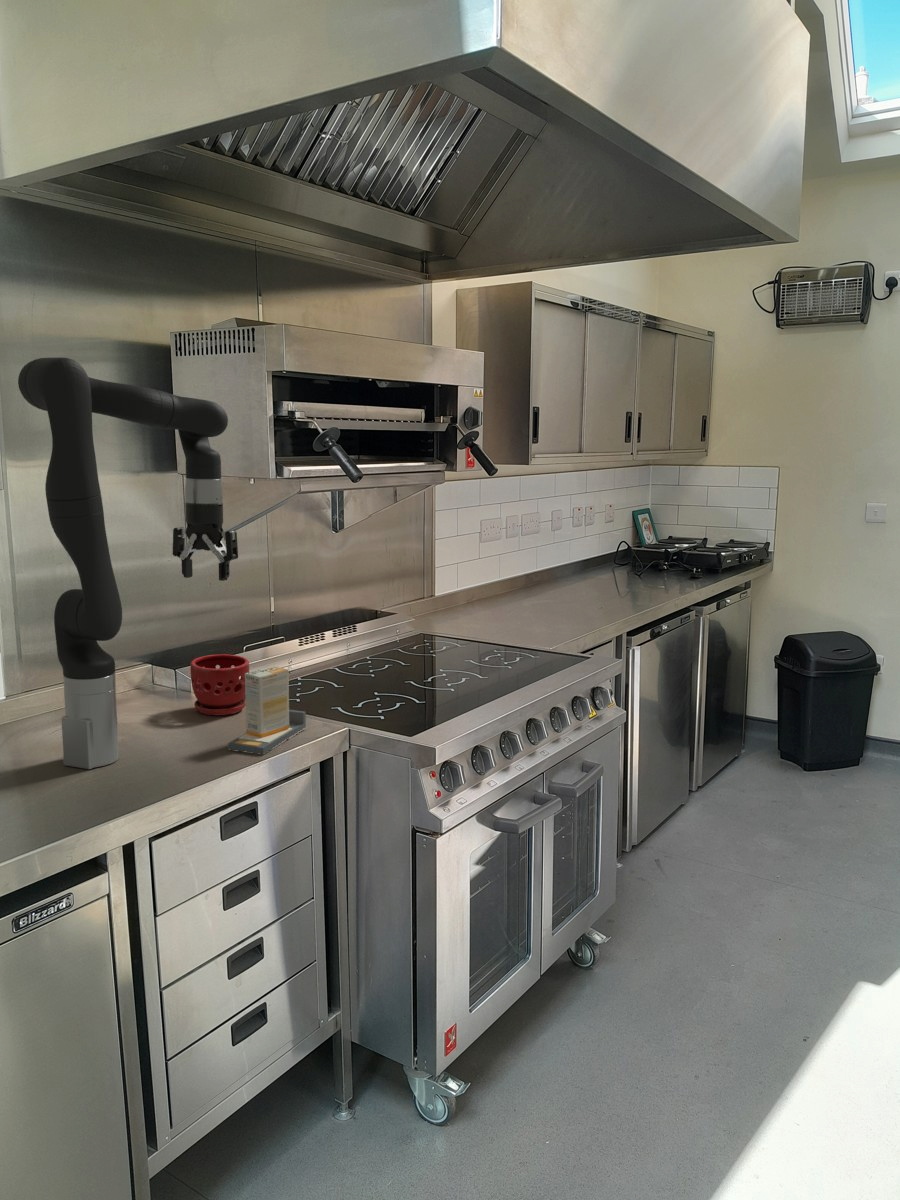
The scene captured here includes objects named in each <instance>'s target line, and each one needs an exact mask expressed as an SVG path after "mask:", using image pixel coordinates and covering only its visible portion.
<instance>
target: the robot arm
mask: <svg viewBox="0 0 900 1200" xmlns="http://www.w3.org/2000/svg"><path fill="white" fill-rule="evenodd" d="M17 384H18V389H19V391H20V394H21V396H22V397H23V399H24V400H25V401H26V402H27V403H28V404H30V405H31V406H33V407H35V408H36V409H38V410H41V411H46V412H47V415H48V420H49V426H50V431H51V440H52V441H51V442H52V447H51V453H50V454H51V455H50V459H49V463H48V466H47V467H48V469H47V473H46V477H45V478H46V479H45V484H44V486H45V489H44V490H45V498H46V505H47V512H48V518H49V521H50V525H51V528H52V529H53V532H54V534H55V536H56V538H57V539H58V541H59V542H60V544H61V545H62V547H63V548H64V550H65V551H66V552H67V554H68V556H69V557H70V558H71V560H72V562H73V564H74V566H75V568H76V570H77V573H78V577H79V580H80V585H81V588H73V589H68V590H66V591H64V592H63V593H62V594H61V595H60V596H59V598H58V599H57V601H56V604H55V607H54V613H53V614H54V615H53V621H54V622H53V624H54V633H55V634H54V635H55V642H56V643H55V645H56V653H57V658H58V662H59V663H60V666H61V667H62V675H63V695H64V697H63V698H64V699H63V700H64V715H63V716H62V717H61V734H62V735H61V736H62V752H63V753H62V758H63V766H66V767H67V766H68V767H74V768H79V769H85V770H91V769H94V768H98V767H99V768H100V767H104V766H108V765H110V764H113V763H115V762H117V760H118V759H119V735H118V732H119V731H118V712H117V711H118V709H117V707H118V705H117V685H116V681H117V680H116V678H117V677H116V663H115V659H114V657H113V656H112V655H111V654H109V653H108V652H106V651H105V650H104V649H103V648H102V647H101V646H100V644H99V642H106V641H111V640H113V638H115V637H116V636H117V635H118V633H119V632H120V630H121V627H122V624H123V623H122V622H123V607H122V601H121V597H120V593H119V590H118V584H117V582H116V577H115V573H114V569H113V565H112V561H111V555H110V554H111V553H110V550H109V549H110V548H109V543H108V537H107V530H106V523H105V513H104V506H103V499H102V498H103V497H102V492H101V487H100V480H99V474H98V465H97V458H96V451H95V443H94V435H93V414H98V415H102V416H108V417H112V418H115V419H119V420H124V421H128V422H132V423H136V424H140V425H143V426H148V427H154V428H158V429H162V430H178V431H177V432H178V435H179V440H180V443H181V448H182V451H183V454H184V457H185V484H184V485H185V487H184V501H185V502H184V504H185V506H184V509H185V512H184V513H185V523H186V525H187V526H186V528H185V527H184V526H180V527H174V528H173V530H172V555H173V557H177V558H179V559H180V560H181V573H182V576H183V577H184V578H186V579H188V578H192V577H193V574H194V573H193V559H192V557H193V556H194V554H195V553H196V552H197V551H201V550H204V551H207V552H208V551H211V553H212V554H213V555H215V556H216V558H217V560H218V561H219V562H218V580H219V581H222V582H224V581H227V580H228V578H230V562H231V561H233V560H237V559H238V558H239V546H238V545H239V544H238V534H237V533H238V532H237V531H236V529H235V530H234V529H233V530H224V529H223V523H224V495H223V494H224V491H223V484H222V459H221V454H220V453H219V451H217V450H215V449H213V448H212V447H211V445H210V441H209V438H216V437H218V436H219V435H221V434H222V435H223V433H224V432H225V431H226V429H227V427H228V424H229V419H228V415H227V412H226V410H225V409H224V408H223V406H221V405H219V404H218V403H217V402H213V401H211V400H207V399H199V398H194V397H189V396H188V397H187V396H179V395H175V394H173V393H170V392H167V391H162V390H159V389H153V388H151V387H145V386H139V385H134V384H126V383H120V382H113V381H107V380H102V379H97V378H94V377H90V376H88V373H87V372H86V370H85V369H84V367H83V366H82V365H81V364H80V363H79V362H78V361H76V360H74V359H71V358H69V357H40V358H36V359H33V360H31V361H29V362H27V363H26V364H25V365H24V366H22V368H21V370H20V372H19V373H18V378H17ZM186 538H187V539H188V541H187V542H186V540H185V539H186ZM222 540H224V542H225V544H224V543H223V541H222ZM185 543H186V544H185Z"/></svg>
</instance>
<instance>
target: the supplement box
mask: <svg viewBox="0 0 900 1200" xmlns="http://www.w3.org/2000/svg"><path fill="white" fill-rule="evenodd" d="M289 672H290V671H289V669H288V668H284V667H280V666H276V665H273V666H268V667H264V668H261V669H257V670H253V671H252V670H251V671H249V672H248V673H245V695H244V697H245V700H246V705H245V729H246V731H245V732H246V733H247V734H250V735H253V736H257V737H261V738H262V737H265V736H267V735H270V734H273V733H276V732H279V731H282V730H285V729H288V728H289V710H290V699H289V698H290V694H289V693H290V691H289V690H290V689H289V688H290V686H289V685H290V683H289V682H290V681H289V679H290V678H289V677H290V676H289V675H290V673H289ZM246 733H245V734H246Z"/></svg>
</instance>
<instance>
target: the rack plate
mask: <svg viewBox="0 0 900 1200" xmlns="http://www.w3.org/2000/svg"><path fill="white" fill-rule="evenodd" d="M306 717H307V716H306V711H301V710H295V709H289V728H288V729H285V730H282V731H279V732H276V733H273V734H270V735H267V736H265V737H262V738H261V737H257V736H253V735H250V734H247V733H244V734H242V735H240V736H239V737H236V738H234V739H232V740H231V741H229V742H228V743H227V745H228V746H227V749H230V750H229V751H231V750H238V751H247V752H253V753H260V754H264V753H266V752H267V751H269V750H270V749H272V748H273V747H275V746H276V745H278V744H279V743H281V742H282V741H284V740H285V739H287V738H289V737H290V736H292V735H294V734H295V733H297V732H298V731H300V730H302V729H303V728H305V727H307V725H306V720H307V719H306ZM238 751H237V752H238ZM269 752H270V751H269ZM266 754H267V753H266ZM264 755H265V754H264Z"/></svg>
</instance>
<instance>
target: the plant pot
mask: <svg viewBox="0 0 900 1200" xmlns="http://www.w3.org/2000/svg"><path fill="white" fill-rule="evenodd" d="M216 666H219V668H217V667H216ZM248 672H250V661H249V659H248V658H246V657H244V656H240V655H236V654H227V653H226V654H223V653H221V654H209V655H204V656H200V657H196V658H194V659H193V660H191V662H190V680H191V687H192V691H193V694H194V696H195V698H196V700H195V702H194V704H193V705H194V708H195V709H196V710H197V711H198V712H200V713H201V714H204V715H209V716H228V715H233V714H236V713H238V712H240V711H242V710H243V709H244V708H246V698H244V697H245V673H248Z"/></svg>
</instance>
